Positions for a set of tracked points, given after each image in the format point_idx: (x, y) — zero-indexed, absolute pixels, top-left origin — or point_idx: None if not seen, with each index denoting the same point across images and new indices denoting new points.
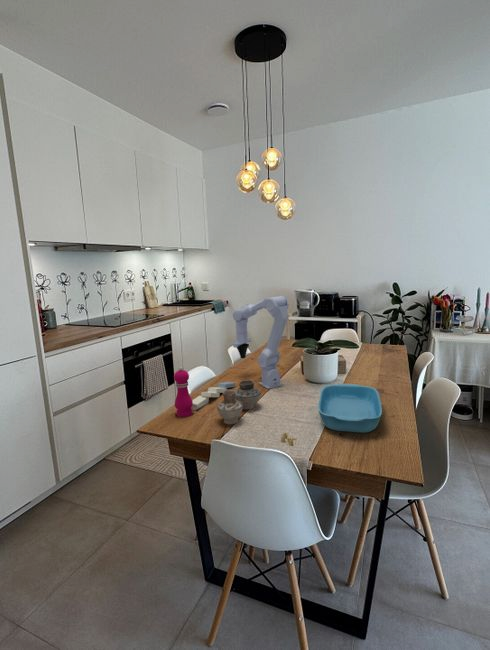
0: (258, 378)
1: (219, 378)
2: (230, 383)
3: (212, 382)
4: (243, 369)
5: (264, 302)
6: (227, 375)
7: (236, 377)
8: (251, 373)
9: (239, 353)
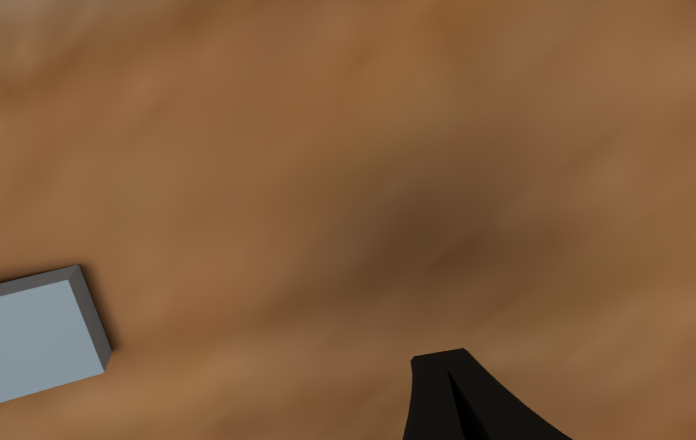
0: None
1: (174, 4)
2: (3, 393)
3: (8, 40)
4: (650, 26)
5: None
6: (329, 11)
7: (334, 172)
8: (544, 226)
9: (408, 422)
